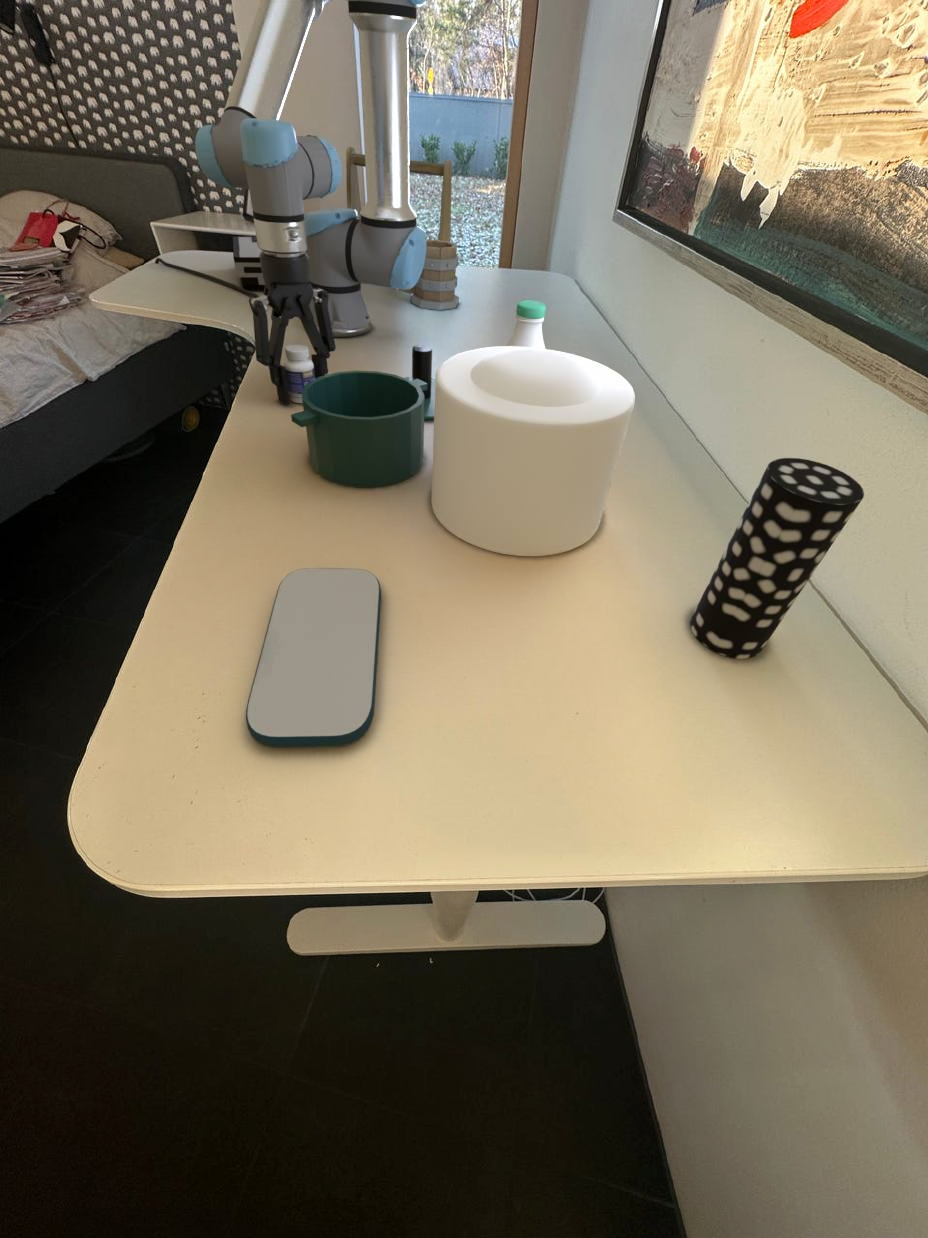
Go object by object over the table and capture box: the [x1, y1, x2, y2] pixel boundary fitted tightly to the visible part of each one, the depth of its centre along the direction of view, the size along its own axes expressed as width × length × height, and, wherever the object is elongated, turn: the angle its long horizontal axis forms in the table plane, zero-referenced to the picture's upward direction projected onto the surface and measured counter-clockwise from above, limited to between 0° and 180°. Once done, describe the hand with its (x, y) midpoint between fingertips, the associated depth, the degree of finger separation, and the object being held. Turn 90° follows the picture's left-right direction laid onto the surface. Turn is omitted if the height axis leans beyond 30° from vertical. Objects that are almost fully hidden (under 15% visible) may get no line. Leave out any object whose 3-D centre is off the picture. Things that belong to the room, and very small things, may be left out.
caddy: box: [345, 146, 453, 243], centre depth 160 cm, size 29×11×30 cm, turn 77°
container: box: [430, 345, 636, 557], centre depth 74 cm, size 25×25×20 cm
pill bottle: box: [283, 343, 315, 404], centre depth 99 cm, size 5×5×9 cm
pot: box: [290, 370, 427, 489], centre depth 84 cm, size 18×23×10 cm
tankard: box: [398, 239, 460, 311], centre depth 148 cm, size 20×13×15 cm, turn 80°
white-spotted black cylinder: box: [689, 457, 865, 660], centre depth 57 cm, size 8×8×20 cm
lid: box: [403, 344, 436, 420], centre depth 102 cm, size 19×19×10 cm
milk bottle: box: [505, 299, 547, 349], centre depth 93 cm, size 8×8×20 cm
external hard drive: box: [245, 567, 382, 748], centre depth 57 cm, size 24×12×2 cm, turn 4°
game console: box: [232, 236, 306, 291], centre depth 158 cm, size 21×32×8 cm, turn 17°
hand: (303, 396), depth 102 cm, fingers open, 7 cm apart
